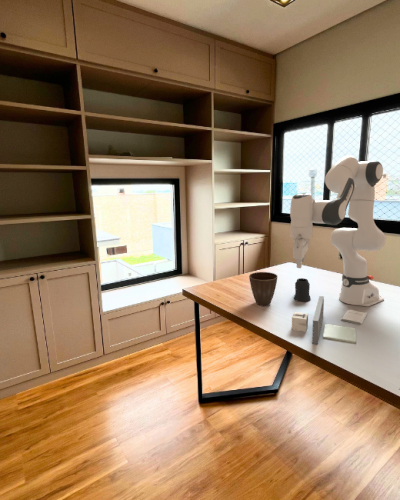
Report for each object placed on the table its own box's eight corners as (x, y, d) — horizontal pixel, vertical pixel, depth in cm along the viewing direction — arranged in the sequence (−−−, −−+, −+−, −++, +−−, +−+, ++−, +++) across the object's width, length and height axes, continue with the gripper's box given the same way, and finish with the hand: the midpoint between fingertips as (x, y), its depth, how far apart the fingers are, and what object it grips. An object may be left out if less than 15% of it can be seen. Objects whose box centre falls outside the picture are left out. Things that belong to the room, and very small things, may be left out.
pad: (325, 325, 130) (325, 323, 130) (355, 329, 125) (355, 328, 125) (322, 338, 120) (323, 336, 120) (355, 343, 114) (355, 341, 114)
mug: (313, 301, 157) (313, 282, 155) (296, 302, 158) (296, 282, 155) (306, 293, 169) (306, 275, 167) (290, 294, 169) (290, 276, 167)
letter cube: (294, 324, 134) (294, 311, 132) (307, 326, 131) (308, 313, 130) (291, 329, 128) (291, 316, 127) (306, 332, 126) (306, 318, 124)
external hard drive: (341, 321, 134) (348, 312, 143) (361, 326, 129) (366, 315, 138) (341, 318, 134) (348, 309, 143) (361, 322, 129) (367, 312, 138)
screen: (318, 315, 140) (319, 296, 138) (323, 316, 140) (323, 296, 138) (312, 343, 116) (312, 320, 114) (317, 344, 115) (318, 321, 113)
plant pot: (277, 299, 164) (277, 272, 160) (277, 310, 150) (277, 280, 146) (251, 298, 168) (250, 271, 164) (248, 308, 154) (247, 279, 150)
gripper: (305, 237, 110) (305, 272, 113) (311, 229, 128) (311, 259, 131) (288, 236, 113) (288, 270, 116) (297, 229, 131) (296, 259, 134)
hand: (300, 264), depth 124 cm, fingers open, 8 cm apart
